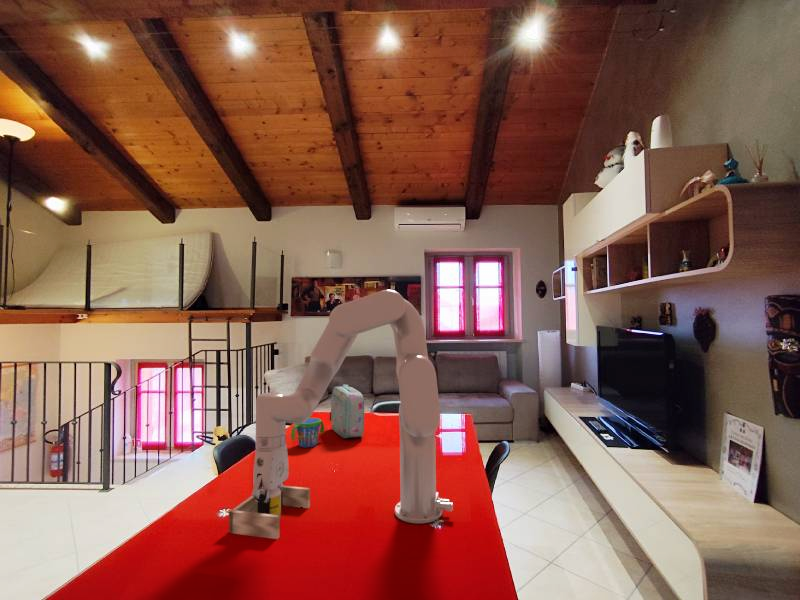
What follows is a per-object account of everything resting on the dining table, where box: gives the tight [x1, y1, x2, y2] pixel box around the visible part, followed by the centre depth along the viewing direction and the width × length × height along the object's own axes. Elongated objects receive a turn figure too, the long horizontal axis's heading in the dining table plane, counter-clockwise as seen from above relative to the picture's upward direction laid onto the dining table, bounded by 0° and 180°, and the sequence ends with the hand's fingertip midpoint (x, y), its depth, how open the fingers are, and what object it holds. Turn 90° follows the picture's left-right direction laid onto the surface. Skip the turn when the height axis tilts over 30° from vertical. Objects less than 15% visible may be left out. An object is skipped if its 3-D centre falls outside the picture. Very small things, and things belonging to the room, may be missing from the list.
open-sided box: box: [228, 485, 311, 540], centre depth 105 cm, size 13×17×5 cm
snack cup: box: [290, 417, 325, 448], centre depth 167 cm, size 16×10×10 cm
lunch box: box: [329, 383, 365, 439], centre depth 185 cm, size 27×10×21 cm, turn 25°
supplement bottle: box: [262, 486, 282, 520], centre depth 105 cm, size 5×5×10 cm
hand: (270, 510), depth 105 cm, fingers closed on supplement bottle, 5 cm apart
